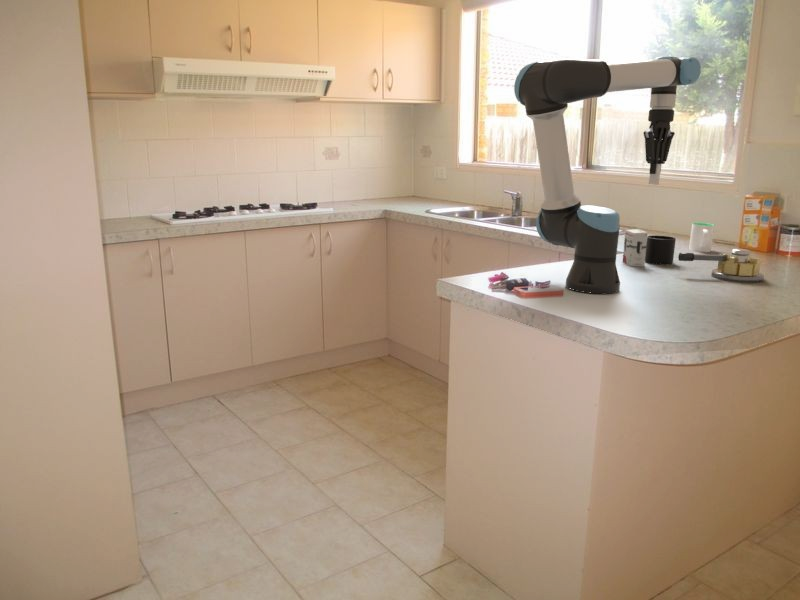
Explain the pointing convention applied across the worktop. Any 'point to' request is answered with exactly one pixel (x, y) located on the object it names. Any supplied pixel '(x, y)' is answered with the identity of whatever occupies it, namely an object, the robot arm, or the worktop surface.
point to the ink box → (635, 247)
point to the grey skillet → (727, 263)
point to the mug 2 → (701, 237)
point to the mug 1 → (660, 250)
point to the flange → (742, 258)
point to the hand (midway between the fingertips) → (653, 184)
